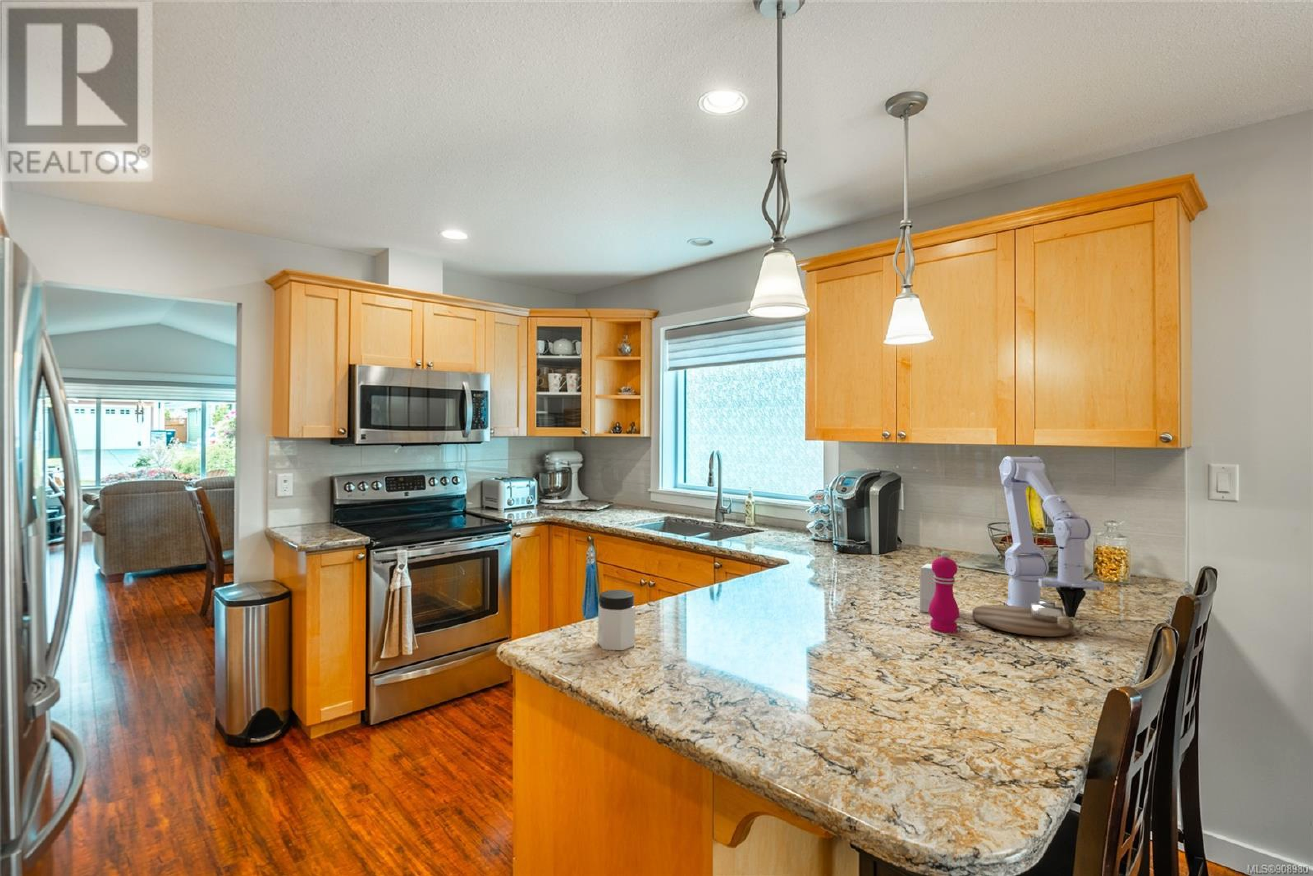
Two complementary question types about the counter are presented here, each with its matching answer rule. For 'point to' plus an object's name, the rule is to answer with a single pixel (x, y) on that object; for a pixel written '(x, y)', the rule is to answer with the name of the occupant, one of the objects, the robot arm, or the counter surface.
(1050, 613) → the aluminium cover
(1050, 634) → the turntable top
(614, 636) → the jar
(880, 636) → the counter surface
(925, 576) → the supplement box
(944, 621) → the pepper mill
